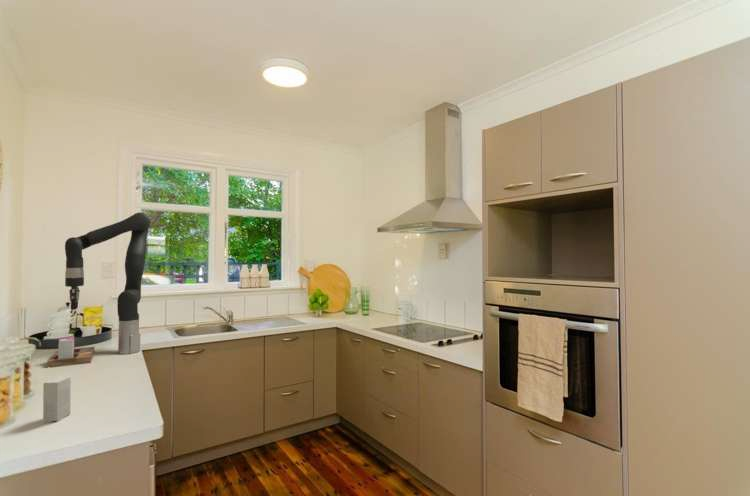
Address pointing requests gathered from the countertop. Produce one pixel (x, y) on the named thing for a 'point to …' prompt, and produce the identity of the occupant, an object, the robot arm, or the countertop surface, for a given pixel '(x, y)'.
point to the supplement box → (66, 348)
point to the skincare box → (56, 399)
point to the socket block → (79, 358)
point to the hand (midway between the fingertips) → (74, 308)
